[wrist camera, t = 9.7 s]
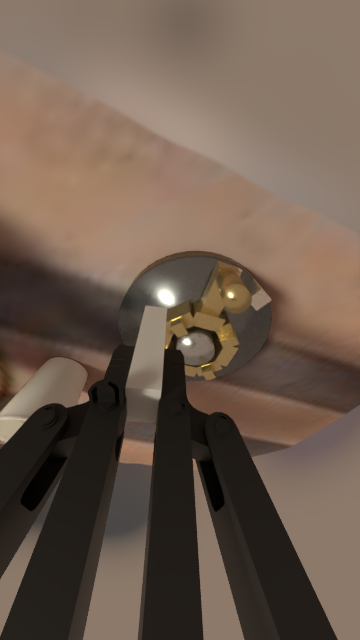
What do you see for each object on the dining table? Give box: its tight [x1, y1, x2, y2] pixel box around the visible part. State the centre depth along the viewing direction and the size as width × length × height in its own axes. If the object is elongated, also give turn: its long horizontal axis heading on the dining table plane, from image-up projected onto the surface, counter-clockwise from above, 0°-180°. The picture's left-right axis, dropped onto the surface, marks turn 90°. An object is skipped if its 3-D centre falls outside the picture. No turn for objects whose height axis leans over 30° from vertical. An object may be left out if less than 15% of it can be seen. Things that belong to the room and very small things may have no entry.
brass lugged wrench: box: [164, 261, 252, 380], centre depth 23 cm, size 17×11×7 cm, turn 162°
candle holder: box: [0, 357, 88, 443], centre depth 33 cm, size 10×10×12 cm
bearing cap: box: [118, 251, 272, 381], centre depth 28 cm, size 22×22×7 cm
